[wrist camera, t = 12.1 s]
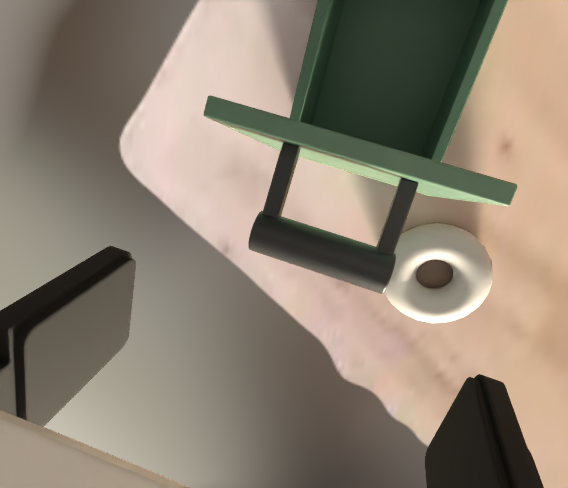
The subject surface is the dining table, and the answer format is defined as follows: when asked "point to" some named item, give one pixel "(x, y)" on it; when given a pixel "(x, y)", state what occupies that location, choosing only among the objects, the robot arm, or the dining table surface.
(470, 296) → the donut
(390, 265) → the lid
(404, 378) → the dining table surface
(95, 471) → the robot arm
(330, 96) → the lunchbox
